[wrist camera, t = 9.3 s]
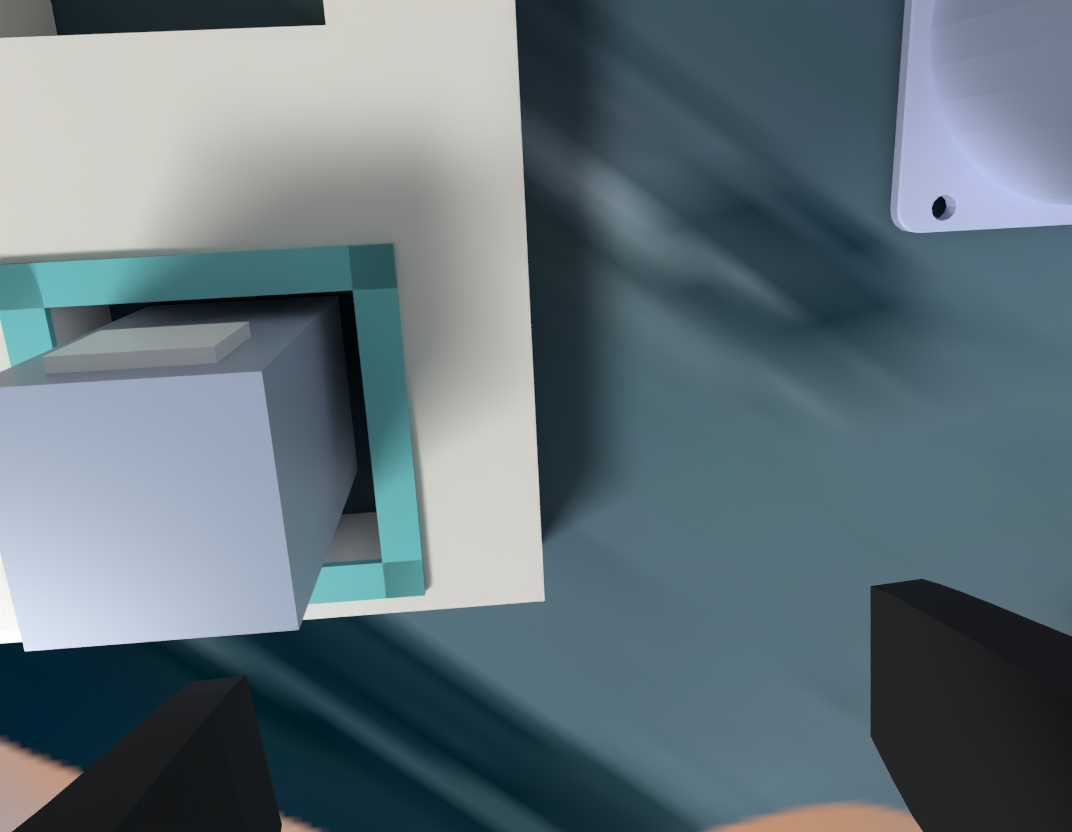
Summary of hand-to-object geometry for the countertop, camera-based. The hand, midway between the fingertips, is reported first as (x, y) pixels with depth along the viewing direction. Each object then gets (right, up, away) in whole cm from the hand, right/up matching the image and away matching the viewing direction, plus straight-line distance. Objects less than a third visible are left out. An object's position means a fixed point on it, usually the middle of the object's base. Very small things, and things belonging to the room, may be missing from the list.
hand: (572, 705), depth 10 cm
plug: (-7, +4, +9) cm, 12 cm away
